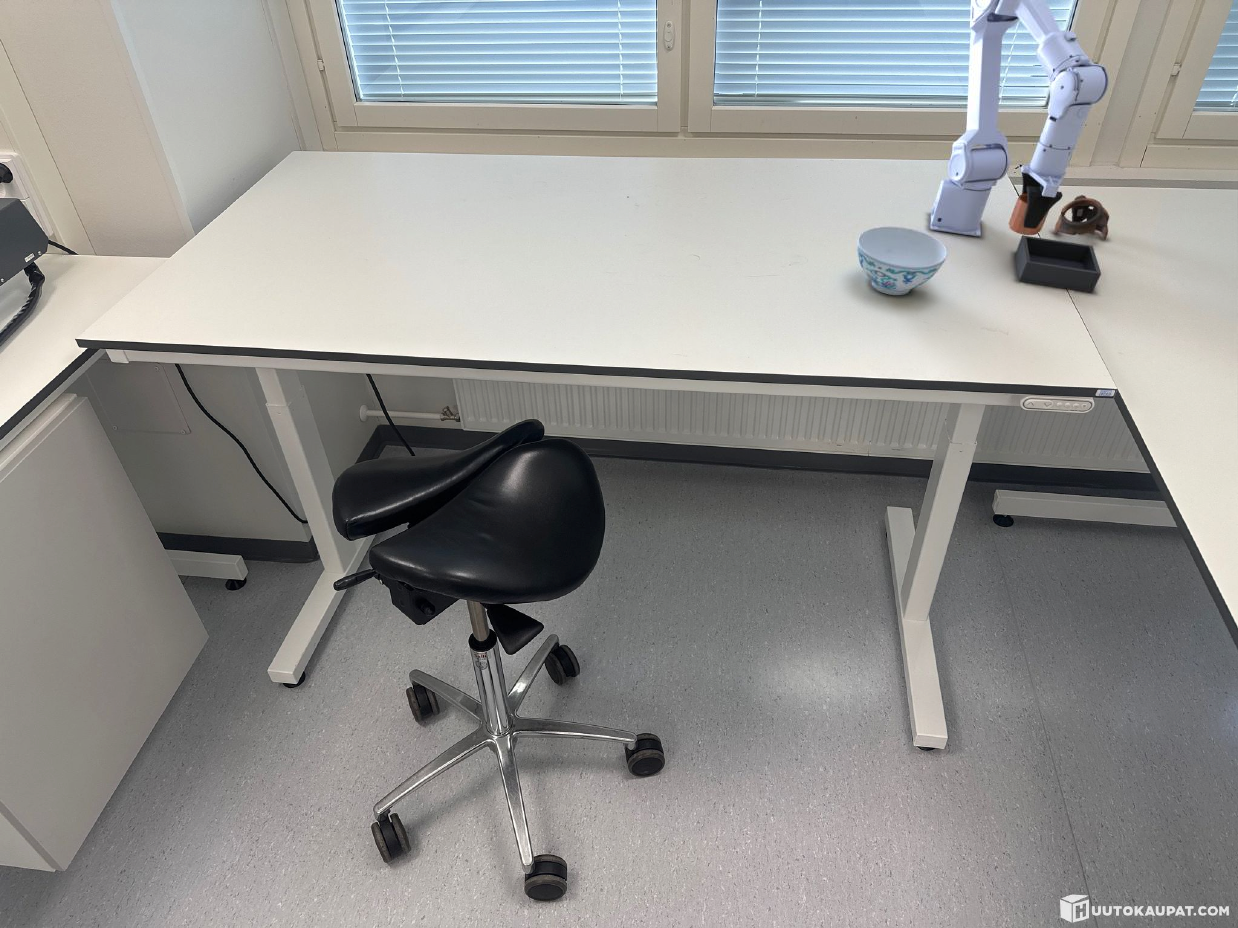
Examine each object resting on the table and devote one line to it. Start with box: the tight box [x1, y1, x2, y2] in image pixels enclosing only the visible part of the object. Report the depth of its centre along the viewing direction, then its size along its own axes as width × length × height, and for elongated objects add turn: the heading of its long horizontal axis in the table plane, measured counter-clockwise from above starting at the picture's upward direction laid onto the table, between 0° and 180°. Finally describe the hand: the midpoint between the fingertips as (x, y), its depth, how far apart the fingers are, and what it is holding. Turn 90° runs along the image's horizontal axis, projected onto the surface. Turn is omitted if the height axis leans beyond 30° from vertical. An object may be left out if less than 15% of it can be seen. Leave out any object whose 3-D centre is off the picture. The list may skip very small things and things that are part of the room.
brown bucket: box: [1008, 193, 1050, 236], centre depth 143 cm, size 6×6×6 cm
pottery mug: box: [1054, 194, 1110, 241], centre depth 159 cm, size 12×10×8 cm
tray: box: [1014, 234, 1102, 294], centre depth 147 cm, size 12×11×4 cm
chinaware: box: [856, 226, 948, 296], centre depth 140 cm, size 15×15×8 cm
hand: (1027, 220), depth 144 cm, fingers closed on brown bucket, 5 cm apart
